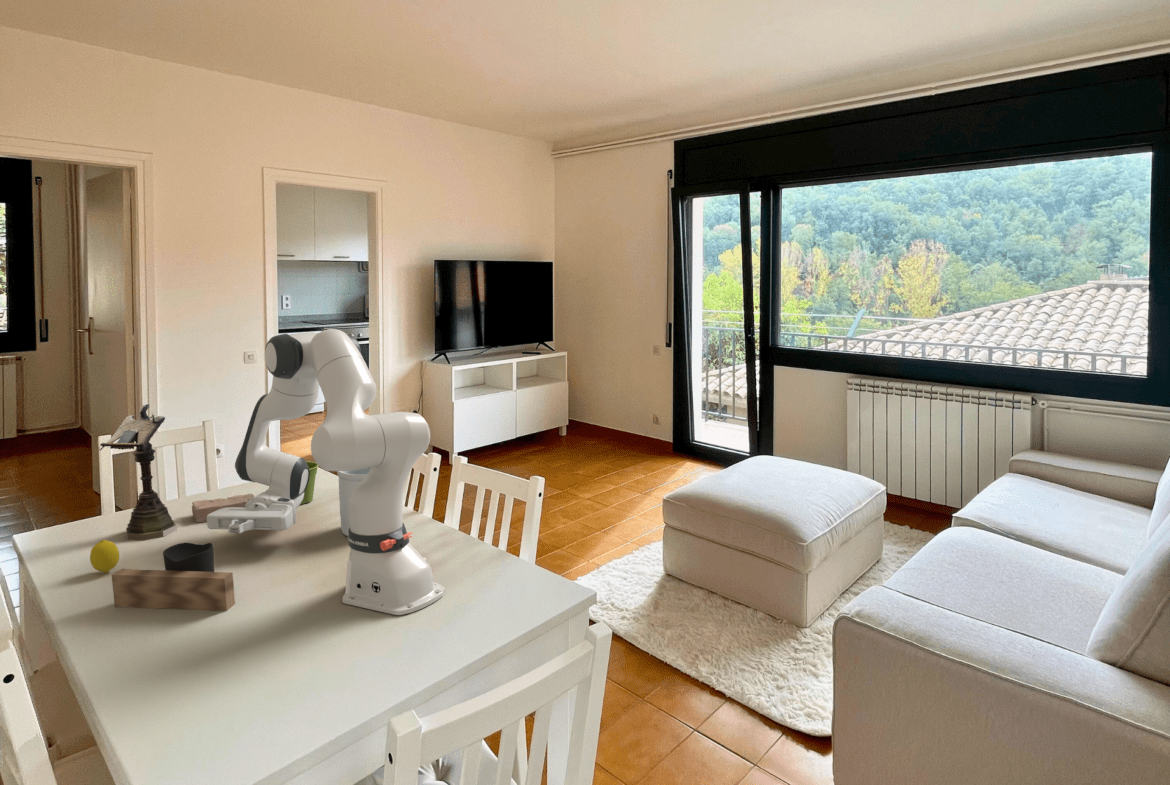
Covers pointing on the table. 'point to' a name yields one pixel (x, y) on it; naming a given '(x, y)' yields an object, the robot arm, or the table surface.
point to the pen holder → (189, 557)
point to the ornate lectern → (143, 477)
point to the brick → (217, 505)
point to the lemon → (104, 556)
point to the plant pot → (310, 482)
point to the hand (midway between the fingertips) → (234, 529)
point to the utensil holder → (348, 493)
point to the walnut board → (173, 589)
